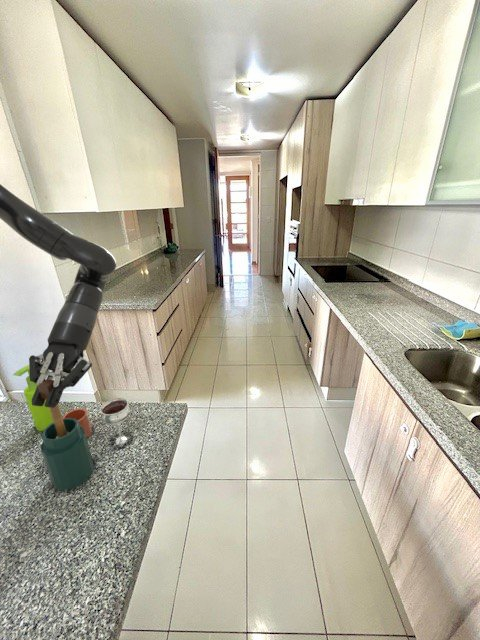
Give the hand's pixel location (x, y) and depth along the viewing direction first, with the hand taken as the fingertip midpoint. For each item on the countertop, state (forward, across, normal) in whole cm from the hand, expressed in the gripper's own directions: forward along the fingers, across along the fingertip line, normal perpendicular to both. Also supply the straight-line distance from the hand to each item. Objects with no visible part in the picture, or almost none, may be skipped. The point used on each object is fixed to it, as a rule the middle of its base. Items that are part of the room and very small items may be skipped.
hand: (43, 406), depth 52 cm
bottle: (+14, 0, +17) cm, 22 cm away
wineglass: (+6, +6, +25) cm, 26 cm away
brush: (+10, 0, +13) cm, 16 cm away
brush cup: (+6, -7, +24) cm, 26 cm away
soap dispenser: (+5, -19, +26) cm, 33 cm away
